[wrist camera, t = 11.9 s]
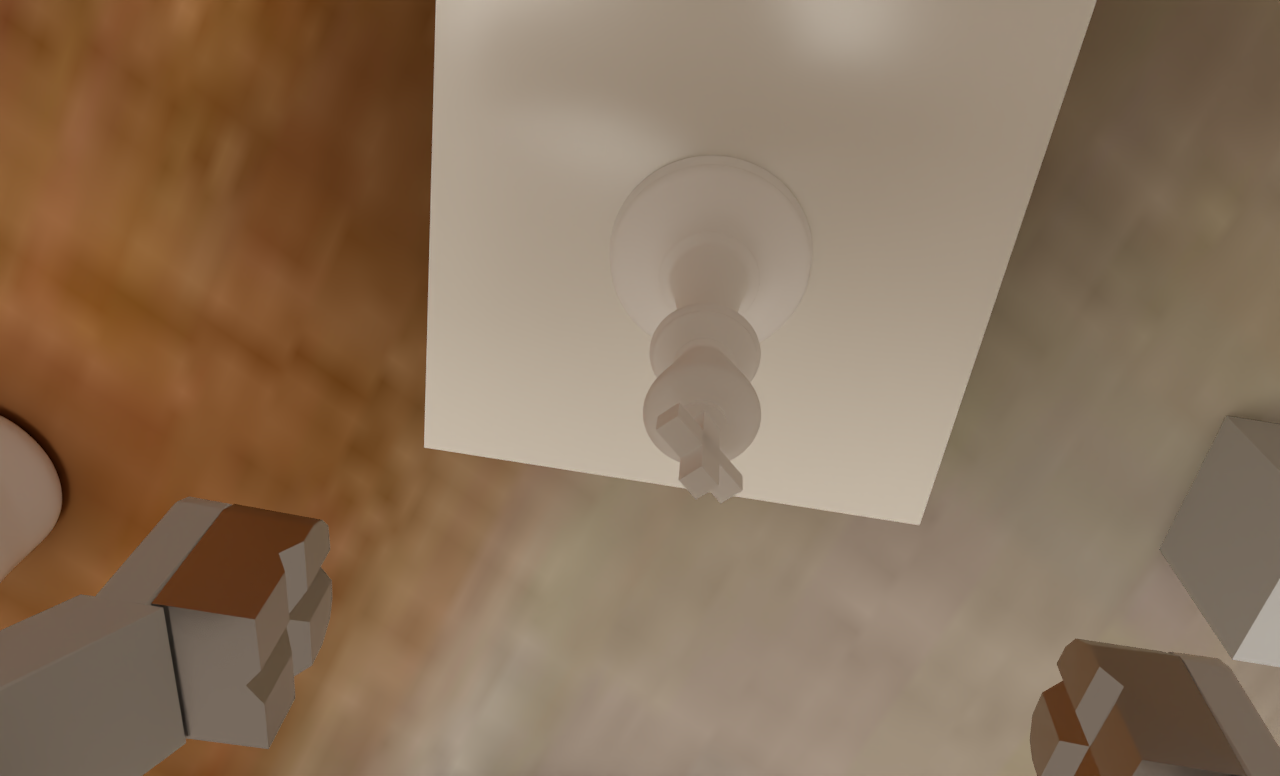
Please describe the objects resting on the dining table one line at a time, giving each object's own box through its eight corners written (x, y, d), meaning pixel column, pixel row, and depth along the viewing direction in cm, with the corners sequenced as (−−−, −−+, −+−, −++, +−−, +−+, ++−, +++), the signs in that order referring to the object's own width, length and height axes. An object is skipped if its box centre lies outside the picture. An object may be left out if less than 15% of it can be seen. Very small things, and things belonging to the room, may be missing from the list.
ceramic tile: (451, -115, 21) (438, -115, 20) (1085, -19, 20) (1101, -16, 20) (433, 429, 27) (424, 447, 26) (913, 504, 27) (919, 525, 26)
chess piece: (691, 380, 25) (669, 653, 16) (569, 236, 23) (471, 451, 14) (851, 274, 23) (929, 515, 14) (732, 111, 21) (735, 267, 13)
